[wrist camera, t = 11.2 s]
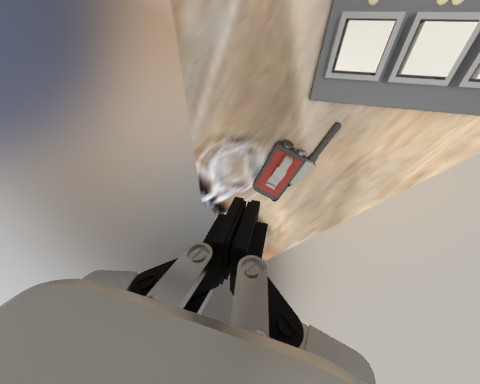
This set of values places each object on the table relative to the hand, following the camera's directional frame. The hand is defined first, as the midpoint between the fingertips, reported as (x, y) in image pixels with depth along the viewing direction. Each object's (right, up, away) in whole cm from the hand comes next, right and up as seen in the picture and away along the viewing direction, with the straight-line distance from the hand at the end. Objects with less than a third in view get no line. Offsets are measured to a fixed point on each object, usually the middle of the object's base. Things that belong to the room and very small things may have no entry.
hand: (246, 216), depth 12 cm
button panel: (+24, +21, +13) cm, 34 cm away
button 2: (+23, +19, +11) cm, 32 cm away
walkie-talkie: (+10, +9, +25) cm, 29 cm away
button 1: (+16, +21, +12) cm, 29 cm away
